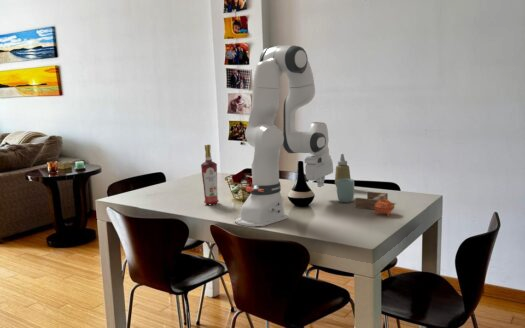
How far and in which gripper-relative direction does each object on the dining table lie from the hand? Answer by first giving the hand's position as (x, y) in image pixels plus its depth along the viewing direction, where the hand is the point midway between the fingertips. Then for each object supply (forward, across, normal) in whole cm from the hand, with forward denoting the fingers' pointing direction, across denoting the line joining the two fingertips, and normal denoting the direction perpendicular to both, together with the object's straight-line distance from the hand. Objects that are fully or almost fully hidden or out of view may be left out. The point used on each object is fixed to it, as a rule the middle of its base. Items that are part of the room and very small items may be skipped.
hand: (320, 186), depth 230 cm
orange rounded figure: (+6, +12, +36) cm, 38 cm away
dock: (+6, 0, +26) cm, 26 cm away
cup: (+6, 0, +13) cm, 14 cm away
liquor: (+6, +30, -42) cm, 52 cm away
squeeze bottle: (+6, -22, 0) cm, 23 cm away
